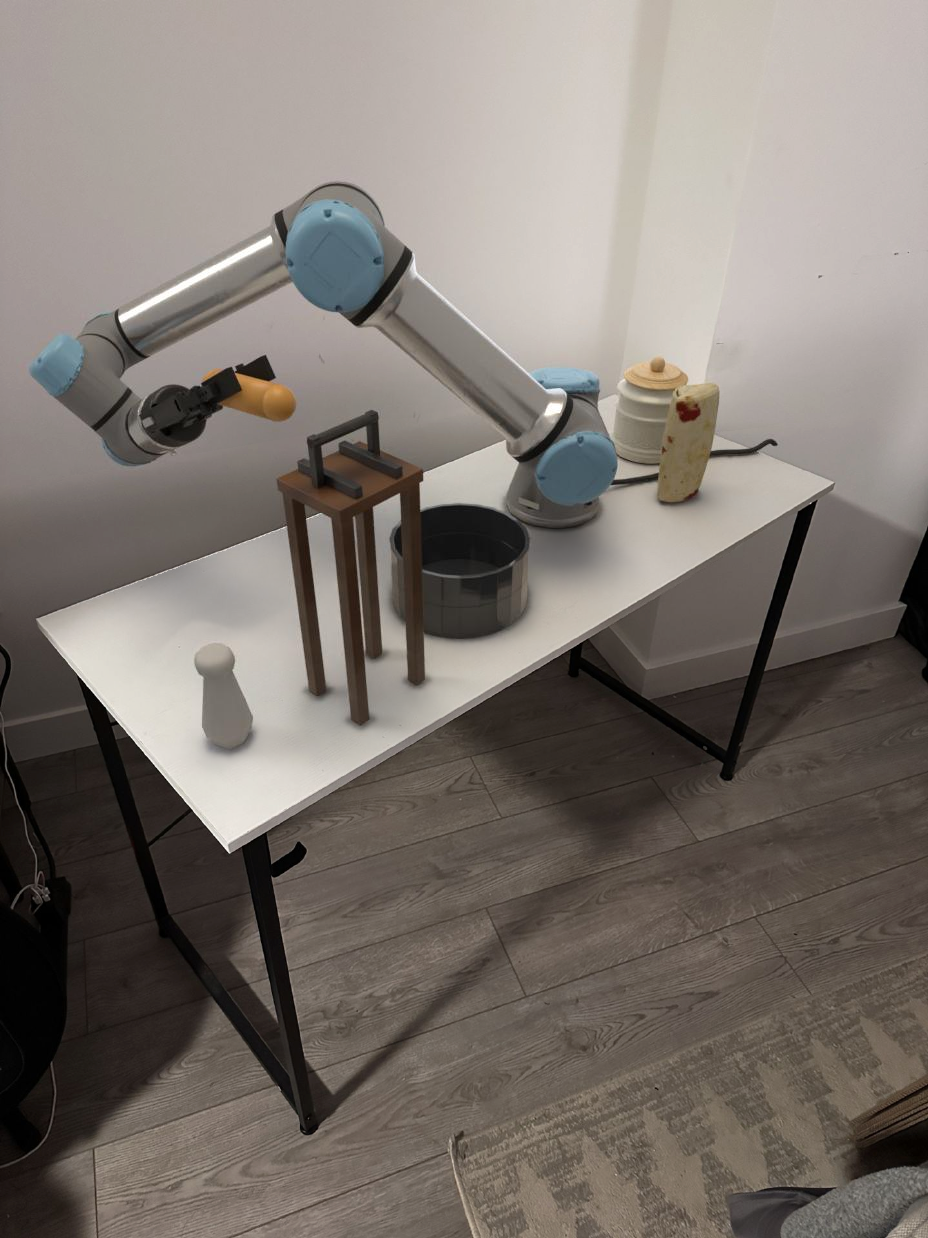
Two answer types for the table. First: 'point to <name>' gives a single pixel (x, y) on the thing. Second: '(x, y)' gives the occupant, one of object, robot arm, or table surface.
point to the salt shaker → (222, 697)
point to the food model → (687, 441)
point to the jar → (644, 409)
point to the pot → (466, 569)
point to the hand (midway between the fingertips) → (251, 373)
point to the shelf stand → (354, 549)
